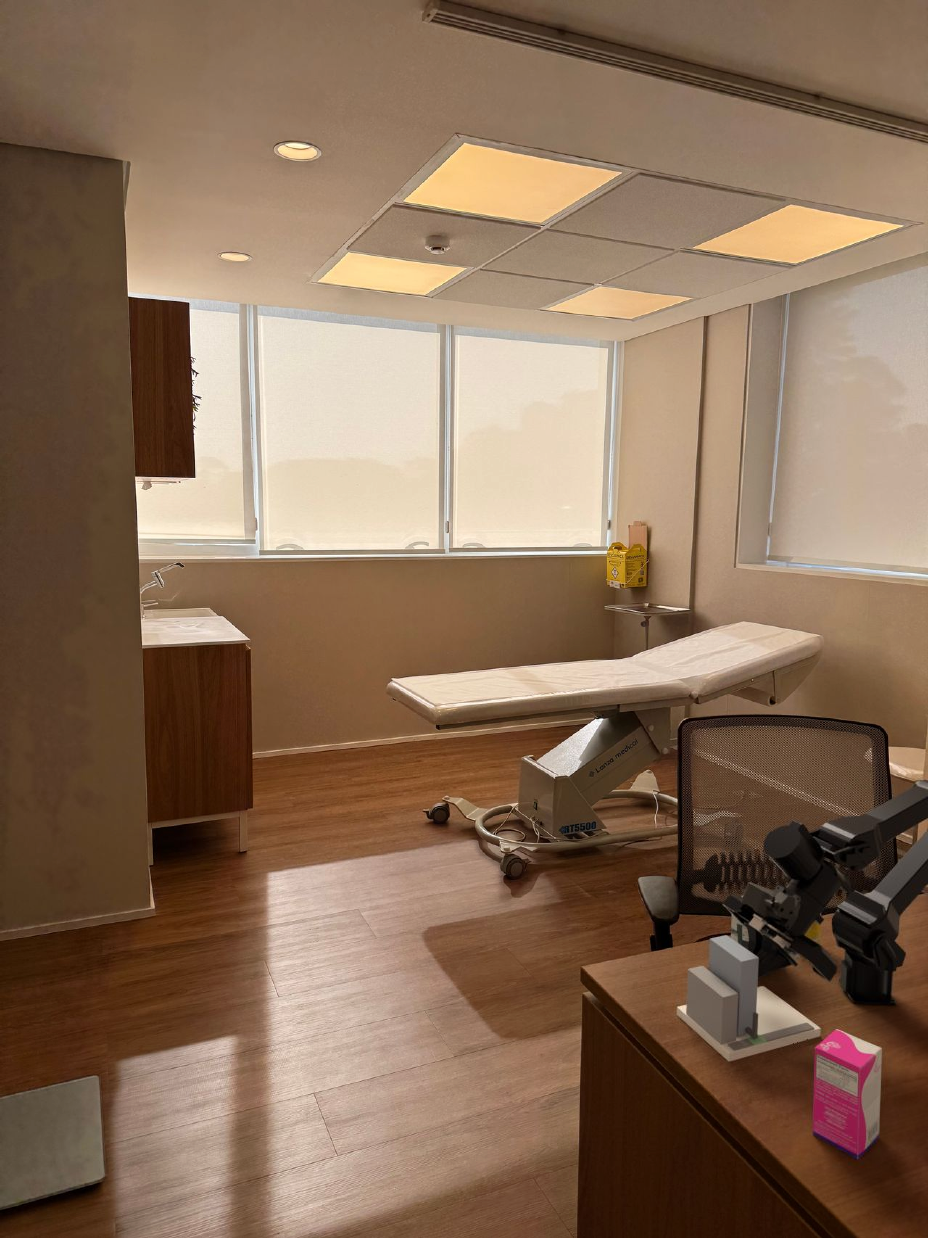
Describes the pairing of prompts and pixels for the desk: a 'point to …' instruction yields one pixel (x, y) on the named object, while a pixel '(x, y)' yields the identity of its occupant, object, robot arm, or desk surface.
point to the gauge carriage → (737, 979)
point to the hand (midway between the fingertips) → (742, 981)
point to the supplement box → (847, 1092)
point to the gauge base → (766, 1024)
